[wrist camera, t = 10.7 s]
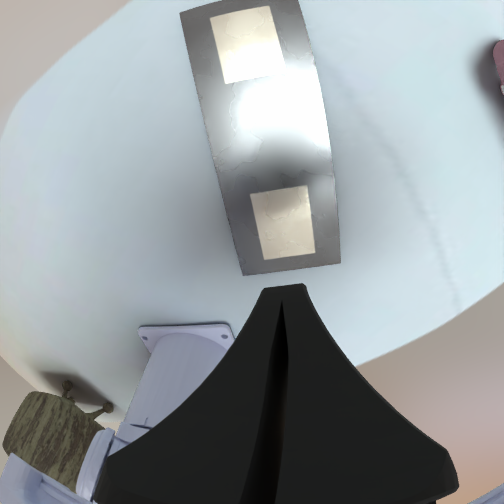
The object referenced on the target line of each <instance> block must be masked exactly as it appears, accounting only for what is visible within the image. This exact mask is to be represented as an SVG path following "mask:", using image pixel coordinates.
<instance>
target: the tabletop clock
mask: <svg viewBox="0 0 504 504" xmlns="http://www.w3.org/2000/svg"><path fill="white" fill-rule="evenodd" d="M62 386H63V388H64V392H63V395H62V397H59V396H56V395H52V394H49V393H45V392H36V391H34V392H31V393H29V394H28V395H27V396H26V398H25V399H24V401H23V402H22V404H21V405H20V407H19V409H18V411H17V412H16V414H15V416H14V418H13V420H12V422H11V424H10V426H9V428H8V430H7V433H6V435H5V438H4V441H3V448H4V450H5V452H6V453H7V455H8V456H10V453H14V454H15V455H16V456H18V457H19V458H21V459H22V460H24V461H25V462H26V463H28V464H29V465H30V466H32V467H33V468H35V469H37V470H38V471H40V472H41V473H44V474H46V475H47V476H49V477H51V478H53V479H54V480H56V481H57V482H59V483H61V484H62V485H64V486H66V487H67V488H69V489H70V491H72V492H73V493H75V494H77V493H76V484H77V480H78V476H79V473H80V470H81V467H82V464H83V461H84V458H85V456H86V453H87V451H88V449H89V446H90V444H91V442H92V440H93V438H94V436H95V435H96V433H97V432H98V431H100V430H105V428H104V427H102V426H101V425H100V424H98V423H97V422H96V421H94V419H95V418H96V417H98V416H99V415H101V414H102V413H104V412H106V413H111V412H113V406H112V405H111V404H110V403H105V404H104V405H103V409H101V410H98V411H96V412H93V413H84V412H83V411H82V410H81V409H80V408H78V407H77V406H76V405H75V401H74V399H73V398H71V397H69V398H67V391H70V390H71V389H72V385H71V383H70V382H69V381H64V382H63V383H62Z"/></svg>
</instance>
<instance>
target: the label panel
mask: <svg viewBox="0 0 504 504" xmlns="http://www.w3.org/2000/svg"><path fill="white" fill-rule="evenodd" d="M179 14H180V18H181V23H182V27H183V32H184V37H185V41H186V46H187V50H188V54H189V59H190V63H191V68H192V72H193V76H194V81H195V85H196V89H197V94H198V98H199V102H200V106H201V111H202V115H203V119H204V123H205V127H206V132H207V136H208V140H209V144H210V148H211V152H212V156H213V160H214V164H215V168H216V173H217V177H218V181H219V185H220V189H221V193H222V197H223V200H224V204H225V208H226V212H227V216H228V220H229V224H230V228H231V232H232V236H233V240H234V243H235V247H236V251H237V255H238V259H239V263H240V266H241V270H242V274H243V276H247V275H255V274H263V273H271V272H279V271H287V270H295V269H302V268H310V267H317V266H324V265H332V264H339V263H341V256H340V238H339V223H338V210H337V199H336V189H335V180H334V171H333V163H332V155H331V148H330V141H329V134H328V128H327V122H326V116H325V110H324V105H323V99H322V94H321V89H320V84H319V79H318V75H317V70H316V66H315V61H314V57H313V53H312V49H311V45H310V41H309V37H308V33H307V29H306V26H305V22H304V19H303V15H302V12H301V8H300V5H299V2H298V0H222V1H218V2H214V3H210V4H206V5H203V6H199V7H196V8H193V9H190V10H187V11H184V12H181V13H179Z"/></svg>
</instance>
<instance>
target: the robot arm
mask: <svg viewBox="0 0 504 504" xmlns="http://www.w3.org/2000/svg"><path fill="white" fill-rule="evenodd" d="M137 333H138V335H139V336H140V338H141V340H142V341H143V343H144V344H145V346H146V348H147V349H148V351H149V352H150V354H151V356H150V359H149V361H148V363H147V366H146V368H145V370H144V373H143V375H142V377H141V380H140V382H139V384H138V387H137V389H136V392H135V394H134V397H133V399H132V401H131V404H130V406H129V409H128V411H127V414H126V416H125V419H124V422H121V424H120V426H119V429H118V431H117V434H116V436H115V435H114V434H115V430H113V429H111V428H106V429H105V430H100V431H98V432H97V433H96V435H95V436H94V438H93V440H92V442H91V444H90V446H89V449H88V451H87V453H86V456H85V458H84V461H83V464H82V467H81V470H80V473H79V476H78V480H77V484H76V493H77V494H75V493H73V492H72V491H70V489H69V488H67V487H66V486H64V485H62V484H61V483H59V482H57V481H56V480H54V479H53V478H51V477H49V476H47V475H46V474H44V473H41V472H40V471H38V470H37V469H35V468H33V467H32V466H30V465H29V464H28V463H26V462H25V461H24V460H22V459H21V458H19V457H18V456H16V455H15V454H14V453H10V456H9V458H8V460H7V463H6V465H5V468H4V470H3V473H2V475H1V478H0V502H1V503H2V504H436V500H438V499H441V498H443V497H445V496H447V495H449V494H452V493H454V492H456V491H457V489H458V488H459V483H458V477H457V473H456V470H455V467H454V464H453V462H452V460H451V457H450V455H449V453H448V451H447V450H446V449H445V448H444V447H442V446H441V445H440V444H438V443H437V442H435V441H434V440H433V439H431V438H430V437H429V436H427V435H426V434H425V433H423V432H422V431H421V430H419V429H418V428H417V427H416V426H414V425H413V424H412V423H411V422H409V421H408V420H407V419H406V418H405V417H404V416H402V415H401V414H400V413H399V412H398V411H397V410H396V409H395V408H394V407H393V406H392V405H391V404H389V403H388V402H387V401H386V400H385V399H384V398H383V397H382V396H381V395H380V394H379V393H378V392H377V391H376V390H375V389H374V388H373V387H372V386H371V385H370V384H369V383H368V381H367V380H366V379H365V378H364V377H363V376H362V375H361V374H360V373H359V371H358V370H357V369H356V368H355V367H354V365H353V364H352V363H351V362H350V361H349V359H348V358H347V357H346V355H345V354H344V353H343V351H342V350H341V349H340V347H339V346H338V345H337V343H336V342H335V340H334V339H333V337H332V336H331V334H330V333H329V331H328V330H327V328H326V327H325V325H324V323H323V322H322V320H321V318H320V317H319V315H318V313H317V311H316V309H315V307H314V305H313V303H312V301H311V299H310V297H309V294H308V292H307V288H306V286H305V285H304V284H303V283H301V284H293V285H285V286H277V287H268V288H264V289H263V290H262V291H261V294H260V296H259V298H258V300H257V302H256V304H255V306H254V308H253V310H252V312H251V314H250V316H249V318H248V319H247V321H246V323H245V324H244V326H243V328H242V330H241V331H240V333H239V335H238V336H237V338H236V339H235V340H234V338H233V335H232V332H231V329H230V327H229V326H228V325H226V324H212V325H193V326H165V327H140V328H139V329H138V331H137ZM223 334H226V335H223ZM468 504H504V483H503V484H501V485H500V486H498V487H497V488H495V489H493V490H492V491H490V492H488V493H487V494H485V495H483V496H481V497H479V498H477V499H476V500H474V501H472V502H470V503H468Z"/></svg>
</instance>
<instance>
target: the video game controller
mask: <svg viewBox="0 0 504 504" xmlns="http://www.w3.org/2000/svg"><path fill="white" fill-rule="evenodd" d="M493 58H494V61H495V63H496V66H497V71H498V74H499V77H500V80H501V84H500V90H501V92H502V94H503V96H504V40H501V41H499V42H498V43H497V44H496V45H495V47H494V50H493Z"/></svg>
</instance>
